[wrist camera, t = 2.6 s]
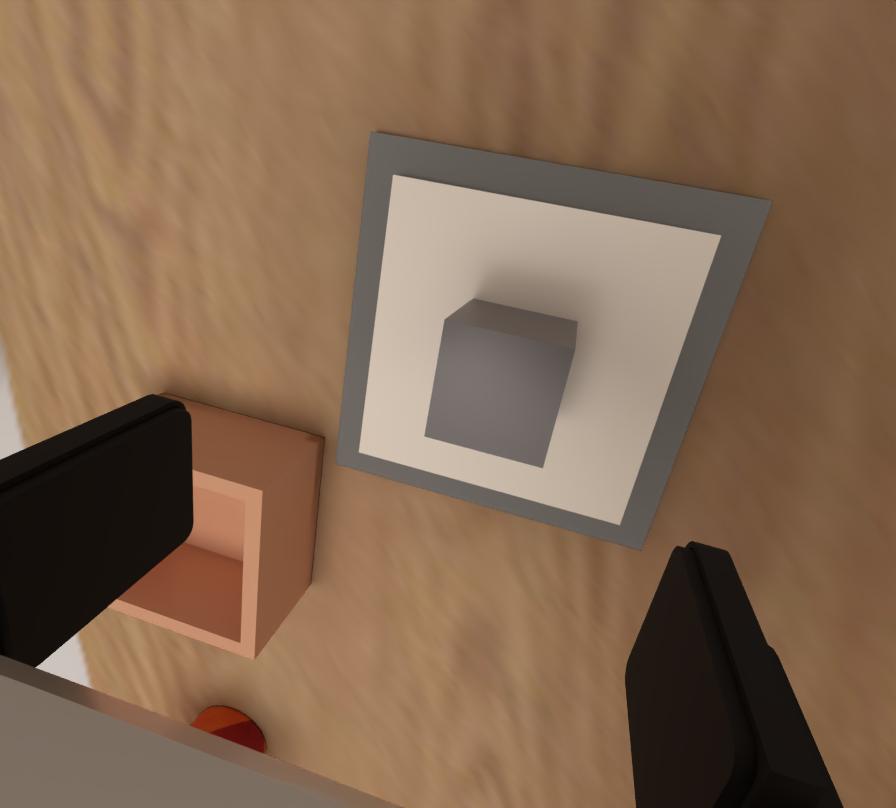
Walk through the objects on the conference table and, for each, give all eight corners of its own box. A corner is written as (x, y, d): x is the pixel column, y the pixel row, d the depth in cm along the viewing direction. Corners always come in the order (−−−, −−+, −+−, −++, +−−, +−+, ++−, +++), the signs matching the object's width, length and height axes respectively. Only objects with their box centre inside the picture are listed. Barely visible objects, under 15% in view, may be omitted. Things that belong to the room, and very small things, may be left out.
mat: (767, 201, 20) (772, 200, 20) (639, 543, 26) (641, 550, 26) (375, 133, 23) (370, 131, 22) (340, 459, 29) (335, 463, 28)
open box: (324, 437, 29) (262, 491, 23) (310, 584, 32) (254, 660, 27) (163, 392, 30) (69, 432, 25) (167, 537, 34) (86, 599, 28)
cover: (716, 234, 20) (761, 241, 15) (618, 516, 25) (627, 596, 20) (399, 175, 23) (342, 164, 17) (364, 446, 27) (311, 501, 22)
